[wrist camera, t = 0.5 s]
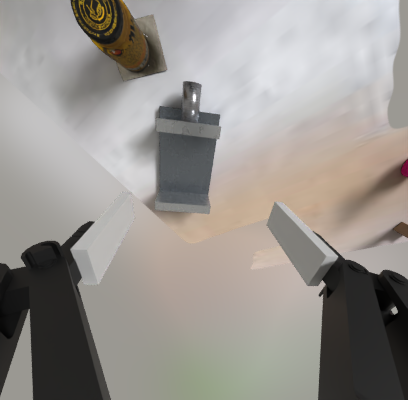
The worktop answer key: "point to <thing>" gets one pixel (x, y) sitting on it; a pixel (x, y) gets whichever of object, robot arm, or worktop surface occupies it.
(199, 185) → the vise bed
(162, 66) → the condiment
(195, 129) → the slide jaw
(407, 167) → the pepper mill
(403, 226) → the wooden block
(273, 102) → the worktop surface
